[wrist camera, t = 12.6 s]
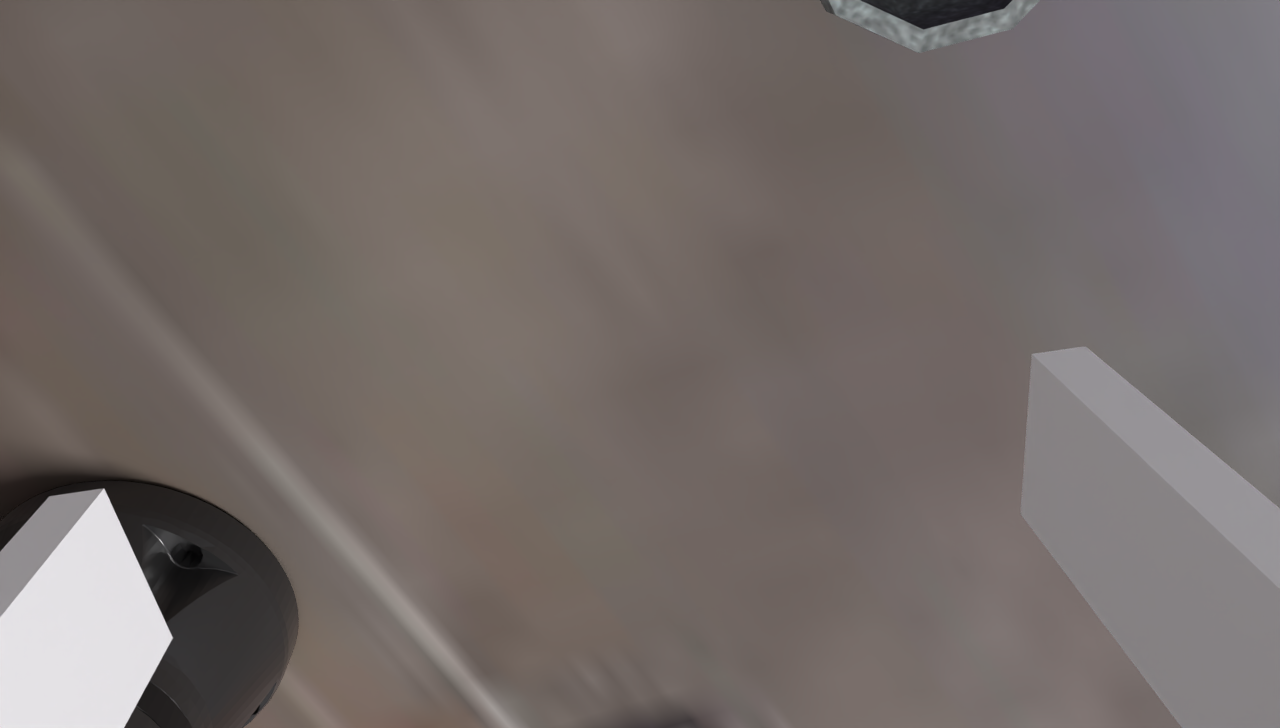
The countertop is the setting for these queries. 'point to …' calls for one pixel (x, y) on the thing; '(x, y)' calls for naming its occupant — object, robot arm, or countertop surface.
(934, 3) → the mortar and pestle
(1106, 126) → the countertop surface
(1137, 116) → the countertop surface
